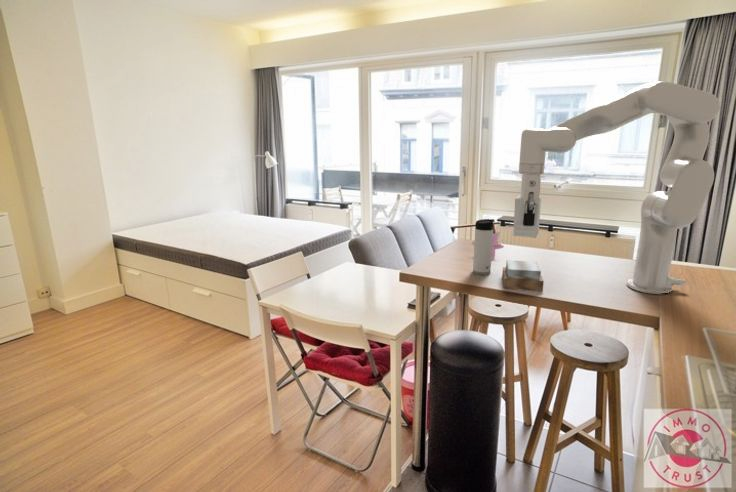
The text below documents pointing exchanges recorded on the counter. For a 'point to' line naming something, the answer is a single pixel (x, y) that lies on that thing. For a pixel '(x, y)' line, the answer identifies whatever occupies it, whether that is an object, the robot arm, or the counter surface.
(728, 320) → the counter surface
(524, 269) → the brown napkin holder
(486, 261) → the travel mug
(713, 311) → the counter surface
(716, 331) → the counter surface
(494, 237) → the lily
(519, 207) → the supplement box
